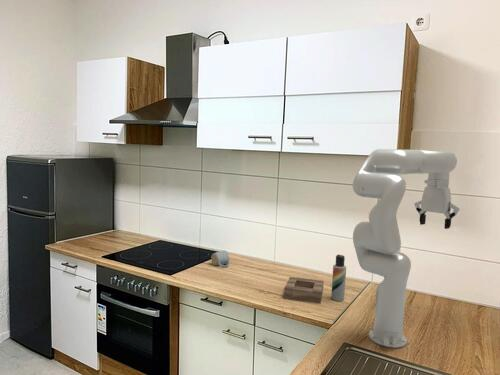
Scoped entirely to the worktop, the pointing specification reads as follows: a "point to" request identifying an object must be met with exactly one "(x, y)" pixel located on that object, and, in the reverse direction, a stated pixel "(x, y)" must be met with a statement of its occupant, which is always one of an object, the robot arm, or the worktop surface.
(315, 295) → the holder
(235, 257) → the worktop surface
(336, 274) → the lotion bottle
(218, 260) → the ceramic mug
